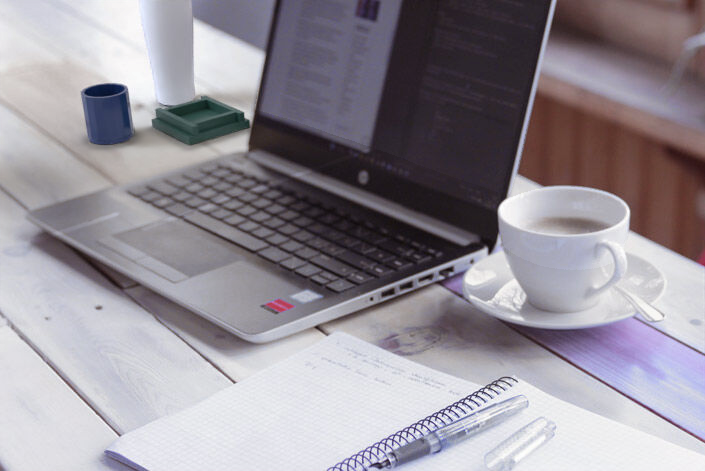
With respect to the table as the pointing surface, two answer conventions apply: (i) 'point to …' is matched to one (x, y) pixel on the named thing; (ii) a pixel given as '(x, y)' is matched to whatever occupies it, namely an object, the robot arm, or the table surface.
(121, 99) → the cup
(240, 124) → the tray
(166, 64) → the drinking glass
